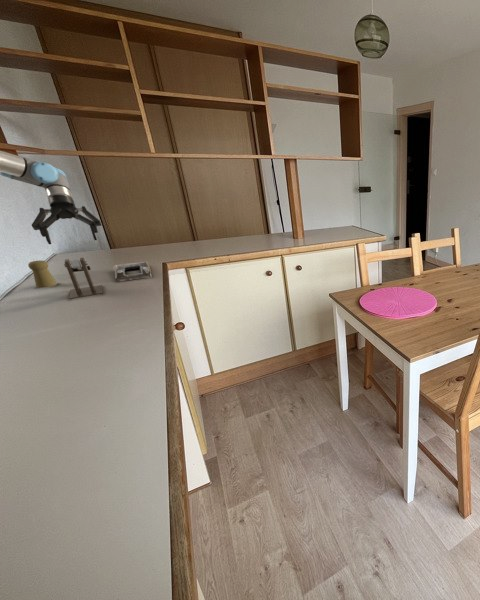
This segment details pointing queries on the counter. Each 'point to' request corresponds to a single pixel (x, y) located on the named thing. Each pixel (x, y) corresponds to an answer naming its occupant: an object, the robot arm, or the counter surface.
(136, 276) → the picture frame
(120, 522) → the counter surface
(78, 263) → the tap lever
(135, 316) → the counter surface
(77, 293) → the bracket
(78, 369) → the counter surface
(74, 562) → the counter surface
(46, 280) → the cork
